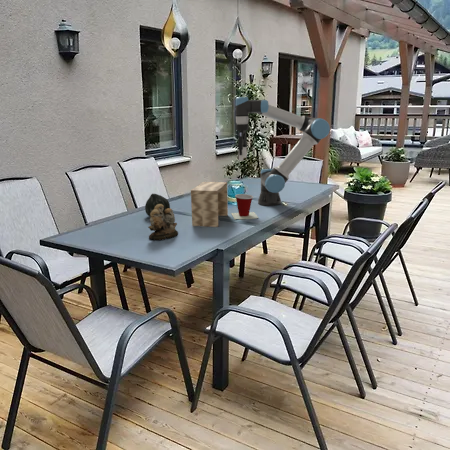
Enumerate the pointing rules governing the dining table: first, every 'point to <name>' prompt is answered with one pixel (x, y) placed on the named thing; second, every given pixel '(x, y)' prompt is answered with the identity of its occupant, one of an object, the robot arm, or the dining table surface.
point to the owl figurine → (162, 223)
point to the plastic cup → (243, 204)
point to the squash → (155, 203)
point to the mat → (251, 216)
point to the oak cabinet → (209, 203)
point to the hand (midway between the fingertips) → (242, 159)
